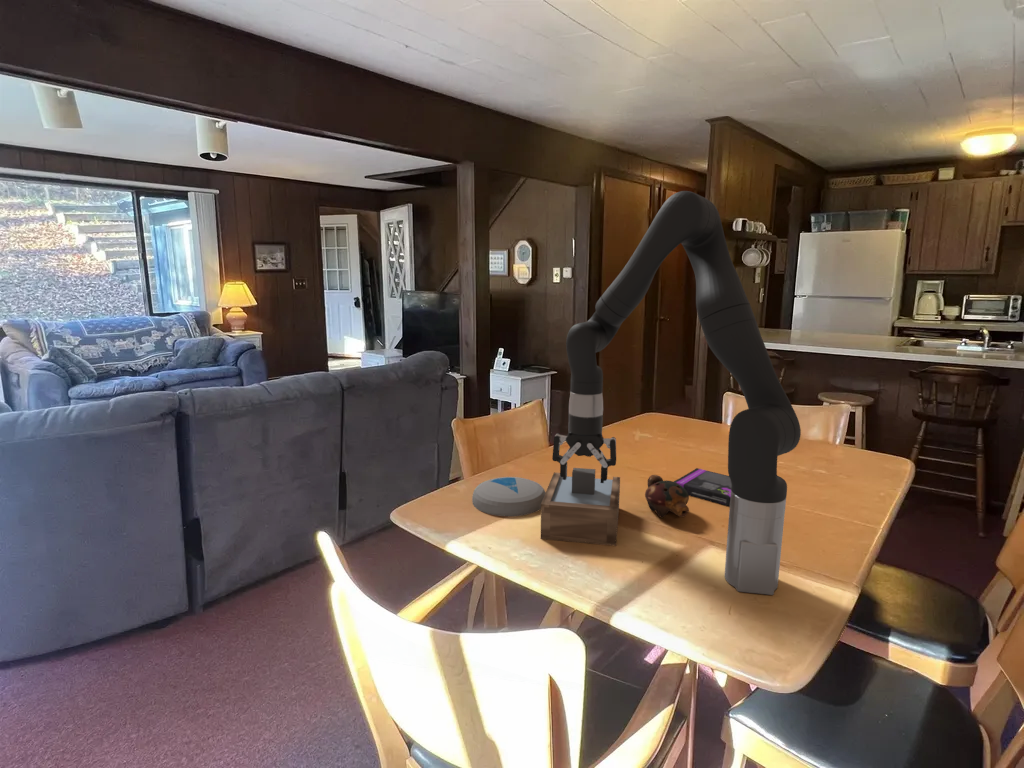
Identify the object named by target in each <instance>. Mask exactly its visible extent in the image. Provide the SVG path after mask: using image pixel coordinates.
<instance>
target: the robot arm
mask: <svg viewBox="0 0 1024 768" xmlns="http://www.w3.org/2000/svg"><path fill="white" fill-rule="evenodd" d="M657 211H658V212H657V213H656V215H655V216H654V217H653V220H652V222H651V224H650V225H649V227H648V229H647V230H646V232H645V233H644V235H643V237H642V239H641V240H640V242H639V243H638V245H637V247H636V249H635V250H634V252H633V254H631V256H630V258H629V260H628V261H627V263H626V264H625V266H624V267H623V268H622V270H621V271H620V272H619V274H618V275H617V276H616V277H615V279H614V280H613V281H612V283H611V284H610V285H609V286H608V287H607V288H606V290H605V291H604V292H603V294H602V295H601V296H600V297H599V299H598V300H597V301H596V303H595V306H594V307H595V312H594V313H593V314H592V316H591V317H590V318H589V319H588V320H587V321H584V322H579V323H578V322H577V323H575V324H574V325H573V326H571V327H570V329H569V330H568V332H567V336H566V342H565V346H566V347H565V349H566V354H567V359H568V360H567V361H568V365H569V368H570V374H571V375H570V392H569V393H570V395H569V401H568V427H567V428H568V433H567V435H563V434H560V433H559V432H557V433H555V435H554V438H553V445H552V457H551V458H552V459H551V460H552V461H553V462H556V463H559V466H560V468H559V471H560V472H559V473H560V476H561V477H563V480H566V478H567V476H568V461H569V460H570V459H571V458H572V457H573V456H574V454H575V455H576V457H582V456H585V457H589V458H590V457H593V456H594V458H595V459H596V460H597V461H598V463H599V464H600V465H601V467H600V479H601V483H604V481H606V480H607V479H608V471H609V470H608V468H609V467H611V466H613V467H614V466H616V465H617V438H616V437H615V436H612V437H611V438H606V437H605V438H604V436H603V420H604V419H603V416H604V415H603V414H604V397H603V386H604V385H603V384H604V382H603V381H604V377H603V376H604V373H603V369H602V367H601V366H599V365H598V364H597V353H599V352H601V351H602V350H604V349H606V347H607V346H608V345H609V344H610V343H612V340H613V339H614V337H615V336H616V334H617V333H618V332H619V329H620V327H621V326H622V324H623V322H624V321H626V320H627V319H628V317H629V316H630V315H631V314H632V313H633V311H635V309H636V308H637V307H638V306H639V304H640V303H641V302H642V300H643V299H644V298H645V296H646V295H647V293H648V290H649V289H650V288H651V287H650V286H651V284H652V282H653V279H654V277H655V275H656V273H657V271H658V269H659V268H660V266H661V265H662V263H663V262H664V260H665V259H666V258H667V257H668V255H669V254H671V252H673V251H674V250H675V249H676V248H677V247H678V246H679V245H680V244H681V246H682V247H683V249H684V251H685V253H686V255H687V257H688V259H689V260H688V261H689V262H690V265H691V267H692V270H693V272H694V276H695V277H694V279H695V307H696V313H697V316H698V317H697V318H698V321H699V324H700V327H701V330H702V332H703V335H704V338H705V341H706V343H707V345H708V347H709V349H710V351H711V352H712V353H713V355H714V356H715V357H716V358H717V360H718V361H719V362H720V363H721V364H722V365H723V366H724V368H726V369H727V371H728V373H730V374H731V376H732V377H733V378H734V379H735V381H736V382H737V384H738V385H739V387H740V390H741V391H742V393H743V396H744V399H745V402H746V405H747V409H743V410H742V411H740V412H738V413H737V414H736V415H735V416H734V417H733V419H732V420H731V424H730V426H729V432H728V443H727V444H728V447H727V449H728V450H727V472H728V474H727V475H728V476H729V477H730V480H731V497H730V507H729V508H728V509H729V511H728V524H727V525H728V526H727V536H726V537H727V538H726V550H725V552H726V553H725V565H724V578H725V580H726V582H727V583H728V584H729V585H731V586H733V588H735V589H736V591H737V592H741V593H748V594H749V593H750V594H761V595H770V596H773V595H775V591H776V590H777V588H778V585H779V576H780V566H781V565H780V564H781V556H782V545H783V536H784V534H783V533H784V524H785V514H786V503H787V495H788V484H787V482H786V480H785V479H784V478H783V477H781V476H779V475H778V456H782V455H784V454H787V453H790V452H792V451H793V450H795V448H796V447H797V446H798V445H799V442H800V440H801V435H802V434H801V433H802V432H801V431H802V430H801V425H800V424H801V423H800V421H799V418H798V416H797V414H796V411H795V409H794V408H793V407H794V406H792V403H791V401H790V399H789V398H788V395H787V394H786V391H785V389H784V388H783V385H782V384H781V381H780V380H779V377H778V375H777V373H776V370H775V368H774V365H773V363H772V360H771V357H770V355H769V352H768V350H767V347H766V345H765V342H764V339H763V338H762V335H761V331H760V328H759V325H758V322H757V320H756V317H755V314H754V311H753V309H752V306H751V304H750V301H749V300H748V296H747V294H746V291H745V289H744V286H743V283H742V282H741V278H740V276H739V275H738V271H737V270H736V268H735V266H734V263H733V261H732V258H731V254H730V252H729V248H728V244H727V241H726V237H725V233H724V227H723V224H722V219H721V216H720V213H719V210H718V209H717V207H716V205H715V204H714V203H713V202H712V201H711V200H709V199H708V198H706V197H704V196H702V195H700V194H698V193H695V192H693V191H690V190H689V191H688V190H681V191H678V192H675V193H673V194H671V195H670V196H669V197H667V199H666V200H665V201H664V202H663V204H662V206H661V207H660V209H659V210H657ZM565 442H566V443H567V446H568V447H569V448H568V449H567V451H566V452H565V453H564V454H563V455H561V454H560V450H561V449H560V448H561V446H562V445H563V444H564V443H565ZM603 445H605V446H606V448H607V449H609V453H610V455H609V456H610V458H607V457H606V456H605V455H604V452H603V451H602V450H601V448H602V447H603Z"/></svg>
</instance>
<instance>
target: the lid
mask: <svg viewBox="0 0 1024 768" xmlns="http://www.w3.org/2000/svg"><path fill="white" fill-rule="evenodd" d="M571 473H572V474H571V476H568V475H567V478H566V480H563V477H561V476H560V479H559V482H558V484H557V487H556V490H555V492H554V495H553V498H552V500H551V501H554V502H566V503H578V504H591V505H603V506H610V498H611V490H612V481H613V479H608V478H607V480H606V481H604V483H601V478H596V469H595V468H583V467H581V468H580V467H573V469H572V471H571Z"/></svg>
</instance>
